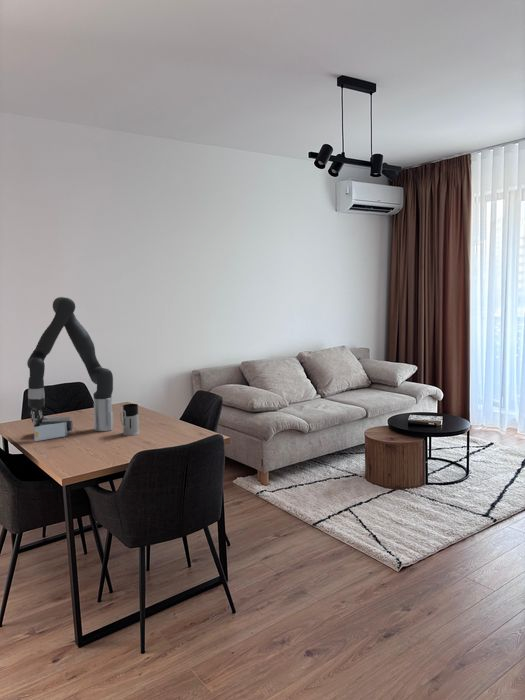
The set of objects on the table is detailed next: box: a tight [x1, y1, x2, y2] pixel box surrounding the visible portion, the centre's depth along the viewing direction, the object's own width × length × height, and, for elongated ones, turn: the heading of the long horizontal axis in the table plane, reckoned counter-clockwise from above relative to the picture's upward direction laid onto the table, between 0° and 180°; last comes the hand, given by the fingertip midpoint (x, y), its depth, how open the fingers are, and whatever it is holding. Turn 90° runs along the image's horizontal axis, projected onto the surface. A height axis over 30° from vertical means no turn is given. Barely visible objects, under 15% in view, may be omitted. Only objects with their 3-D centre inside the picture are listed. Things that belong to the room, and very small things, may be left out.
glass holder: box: [119, 403, 140, 437], centre depth 281 cm, size 9×14×15 cm, turn 164°
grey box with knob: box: [40, 416, 74, 436], centre depth 283 cm, size 17×10×9 cm, turn 96°
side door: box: [33, 422, 68, 442], centre depth 273 cm, size 16×2×7 cm, turn 130°
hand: (37, 431), depth 271 cm, fingers closed
